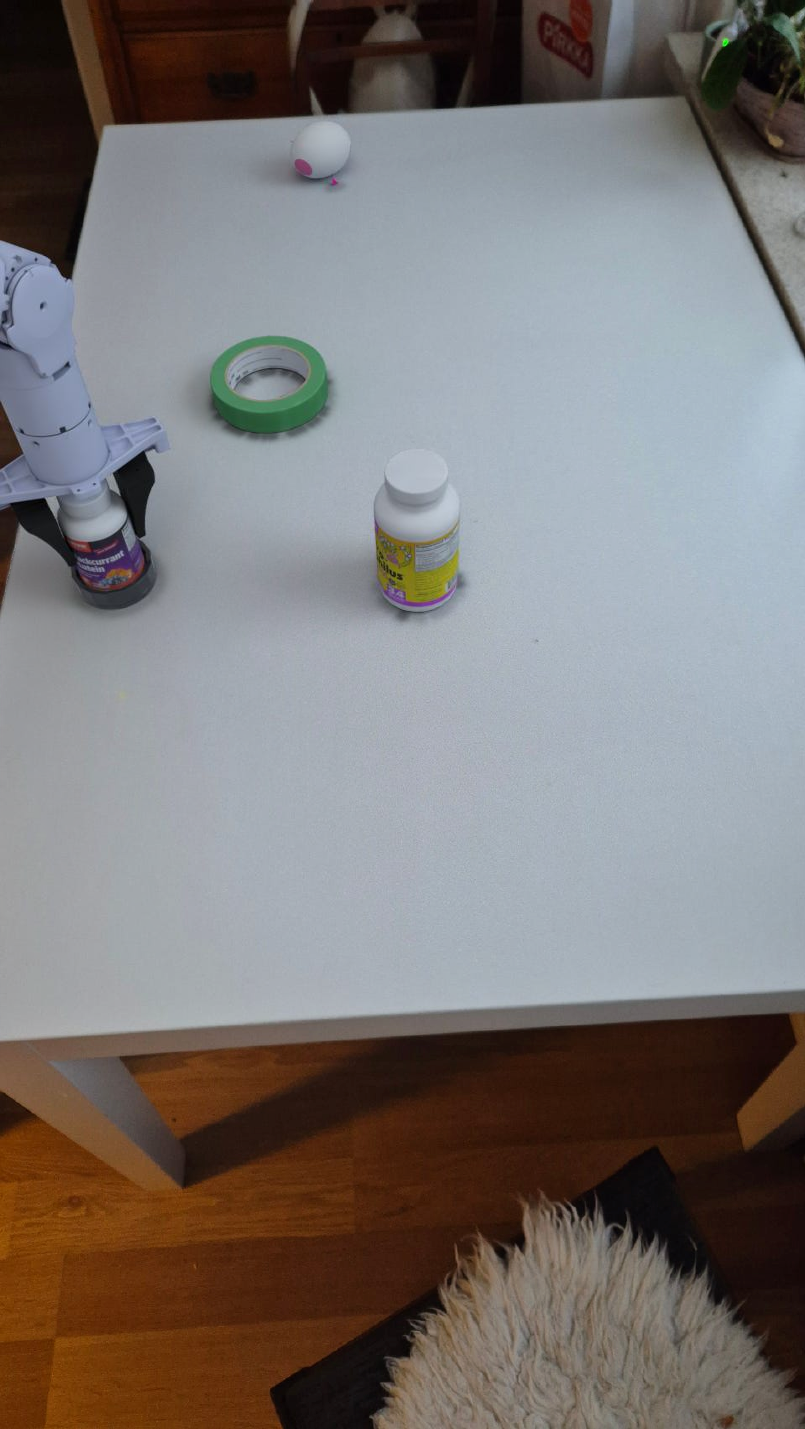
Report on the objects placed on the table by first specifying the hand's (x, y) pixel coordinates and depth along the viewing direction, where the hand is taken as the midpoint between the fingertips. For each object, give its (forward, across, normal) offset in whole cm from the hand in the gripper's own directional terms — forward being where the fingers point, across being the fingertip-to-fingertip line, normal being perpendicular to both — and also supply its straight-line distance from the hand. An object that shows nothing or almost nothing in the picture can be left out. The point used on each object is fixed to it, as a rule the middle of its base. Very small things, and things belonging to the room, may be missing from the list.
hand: (103, 544), depth 82 cm
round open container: (+4, 0, 0) cm, 4 cm away
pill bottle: (+4, 0, 0) cm, 4 cm away
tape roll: (+4, +22, +14) cm, 26 cm away
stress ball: (+4, +44, +47) cm, 65 cm away
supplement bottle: (+4, +21, -14) cm, 26 cm away
